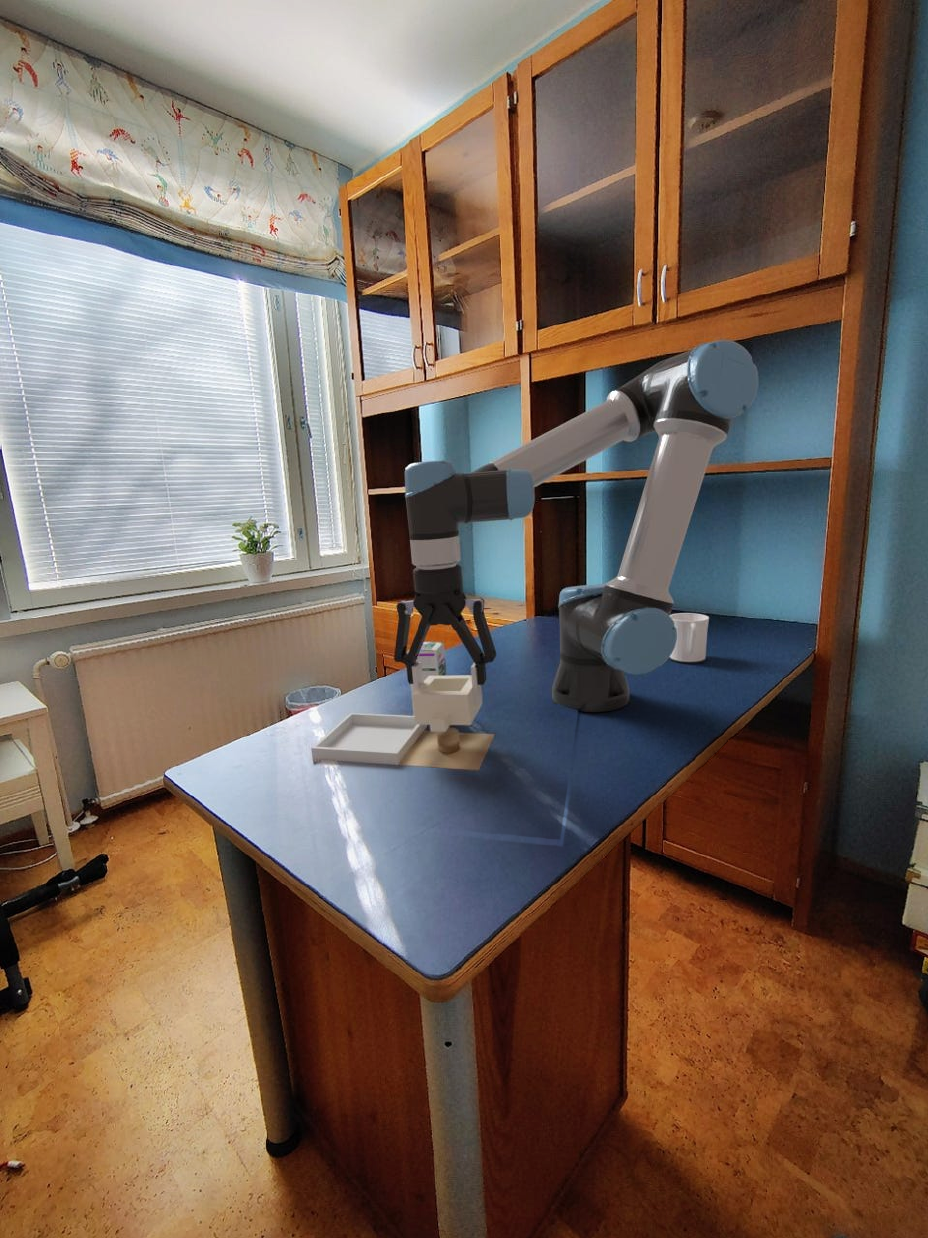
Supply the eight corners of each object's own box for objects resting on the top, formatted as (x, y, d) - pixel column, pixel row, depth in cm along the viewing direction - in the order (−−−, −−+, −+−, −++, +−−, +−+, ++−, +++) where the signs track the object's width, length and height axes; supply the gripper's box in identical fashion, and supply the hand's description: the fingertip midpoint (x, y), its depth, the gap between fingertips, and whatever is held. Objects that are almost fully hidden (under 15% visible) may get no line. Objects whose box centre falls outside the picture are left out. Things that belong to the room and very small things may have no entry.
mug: (663, 654, 141) (664, 613, 139) (701, 653, 140) (703, 612, 138) (673, 667, 131) (674, 624, 129) (714, 667, 130) (716, 623, 127)
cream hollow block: (482, 703, 97) (480, 675, 96) (466, 732, 86) (463, 700, 85) (431, 703, 99) (428, 675, 98) (410, 731, 88) (406, 700, 87)
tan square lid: (495, 737, 100) (494, 718, 99) (478, 773, 87) (477, 752, 86) (423, 733, 103) (422, 715, 102) (398, 768, 90) (396, 747, 90)
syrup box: (443, 724, 106) (438, 649, 103) (412, 723, 107) (406, 649, 104) (450, 713, 112) (445, 641, 108) (420, 712, 113) (415, 641, 110)
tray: (427, 729, 105) (426, 716, 104) (398, 768, 90) (397, 753, 90) (351, 725, 108) (350, 713, 108) (312, 762, 94) (311, 748, 94)
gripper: (510, 558, 89) (518, 695, 94) (380, 564, 94) (394, 693, 99) (502, 566, 82) (510, 713, 87) (361, 571, 87) (377, 709, 92)
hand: (448, 702), depth 93 cm, fingers closed on cream hollow block, 9 cm apart
